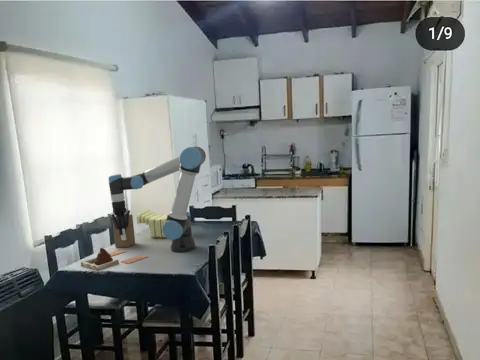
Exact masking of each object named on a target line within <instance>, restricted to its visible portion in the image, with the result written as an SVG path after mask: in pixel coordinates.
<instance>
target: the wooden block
mask: <svg viewBox="0 0 480 360" xmlns="http://www.w3.org/2000/svg"><path fill="white" fill-rule="evenodd" d="M115 217H116V215H115ZM116 220H117V218H116ZM112 229H113V237H114V247H115V248H130V247H131V246H133V245H134V244H135V243H136V238H135V237H136V236H135V228H134V218H133V214H132V213H131V214H130V213H129V224H128V227H127V228H126V240H121V235H120V234H119V229H116V228H115V226H114V223H113V222H112ZM122 229H123V228H122Z"/></svg>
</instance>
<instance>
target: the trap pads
mask: <svg viewBox="0 0 480 360" xmlns="http://www.w3.org/2000/svg"><path fill="white" fill-rule="evenodd" d="M108 253H109V254H110V255H111V257H114V256H117V255H118V256H119V255H120V254H123V253H127V250H121V249H118V250H115V251H111V252H108ZM146 258H149V256H148V255H144V254H139V255H136V256H133V257H130V258H127V259H124V260H120V263H124V264H127V265H129V264H131V263H135V262H137V261H141V260H143V259H144V260H145V259H146Z"/></svg>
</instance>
